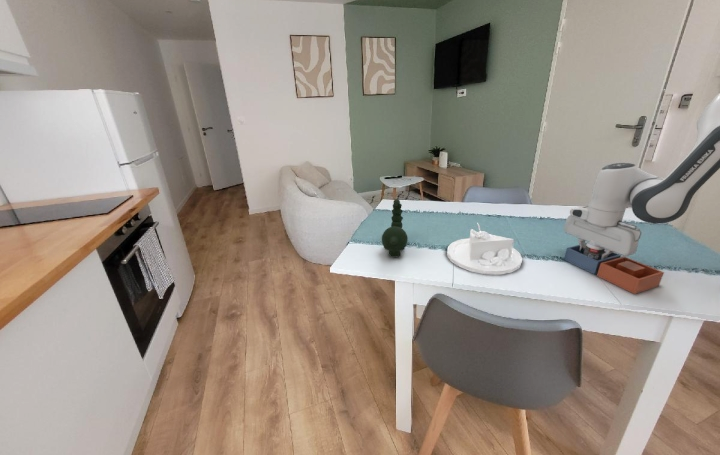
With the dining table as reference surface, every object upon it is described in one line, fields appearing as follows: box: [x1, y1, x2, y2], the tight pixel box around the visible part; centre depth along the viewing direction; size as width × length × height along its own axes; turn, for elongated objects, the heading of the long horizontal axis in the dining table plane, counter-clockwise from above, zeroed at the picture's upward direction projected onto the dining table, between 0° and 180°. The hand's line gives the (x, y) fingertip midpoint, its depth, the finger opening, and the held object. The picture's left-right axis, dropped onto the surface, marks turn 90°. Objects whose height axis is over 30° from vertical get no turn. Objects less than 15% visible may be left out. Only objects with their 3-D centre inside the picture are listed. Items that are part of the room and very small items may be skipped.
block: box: [616, 261, 645, 279], centre depth 86 cm, size 4×4×4 cm
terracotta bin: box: [596, 256, 665, 295], centre depth 86 cm, size 10×10×5 cm
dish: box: [446, 222, 523, 276], centre depth 102 cm, size 25×25×11 cm
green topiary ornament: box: [381, 198, 409, 258], centre depth 110 cm, size 9×19×25 cm
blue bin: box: [563, 242, 622, 275], centre depth 96 cm, size 10×10×5 cm
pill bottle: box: [583, 240, 605, 261], centre depth 95 cm, size 5×5×8 cm
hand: (592, 255), depth 95 cm, fingers closed on pill bottle, 5 cm apart
